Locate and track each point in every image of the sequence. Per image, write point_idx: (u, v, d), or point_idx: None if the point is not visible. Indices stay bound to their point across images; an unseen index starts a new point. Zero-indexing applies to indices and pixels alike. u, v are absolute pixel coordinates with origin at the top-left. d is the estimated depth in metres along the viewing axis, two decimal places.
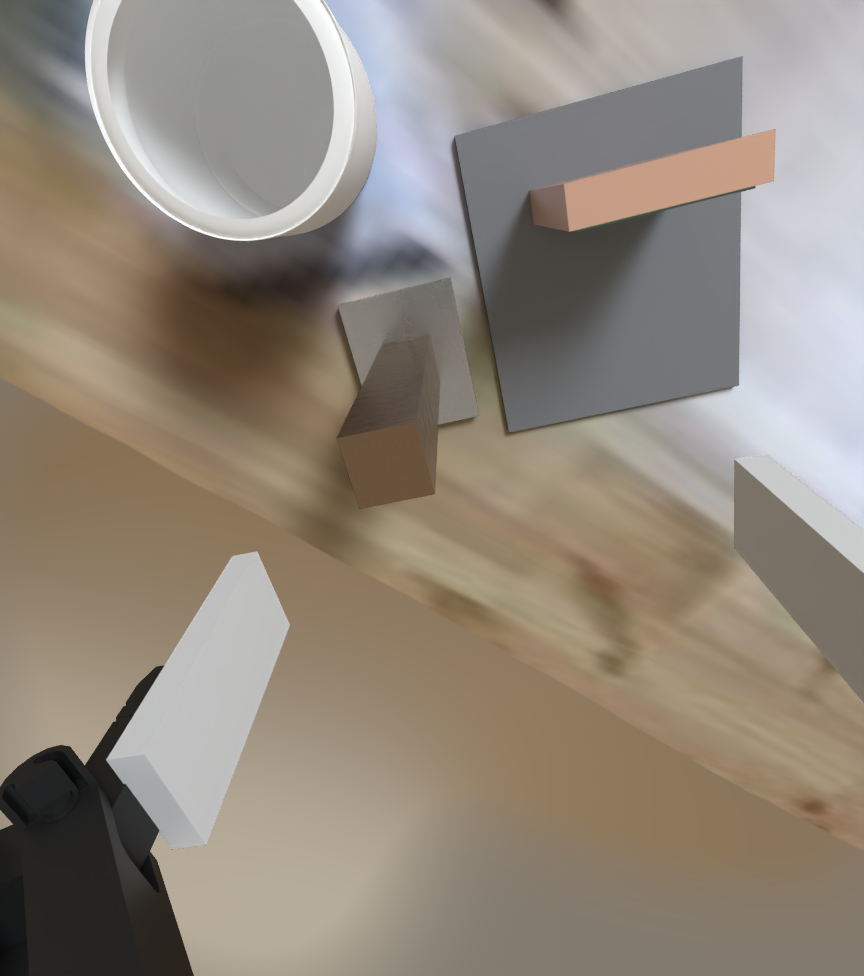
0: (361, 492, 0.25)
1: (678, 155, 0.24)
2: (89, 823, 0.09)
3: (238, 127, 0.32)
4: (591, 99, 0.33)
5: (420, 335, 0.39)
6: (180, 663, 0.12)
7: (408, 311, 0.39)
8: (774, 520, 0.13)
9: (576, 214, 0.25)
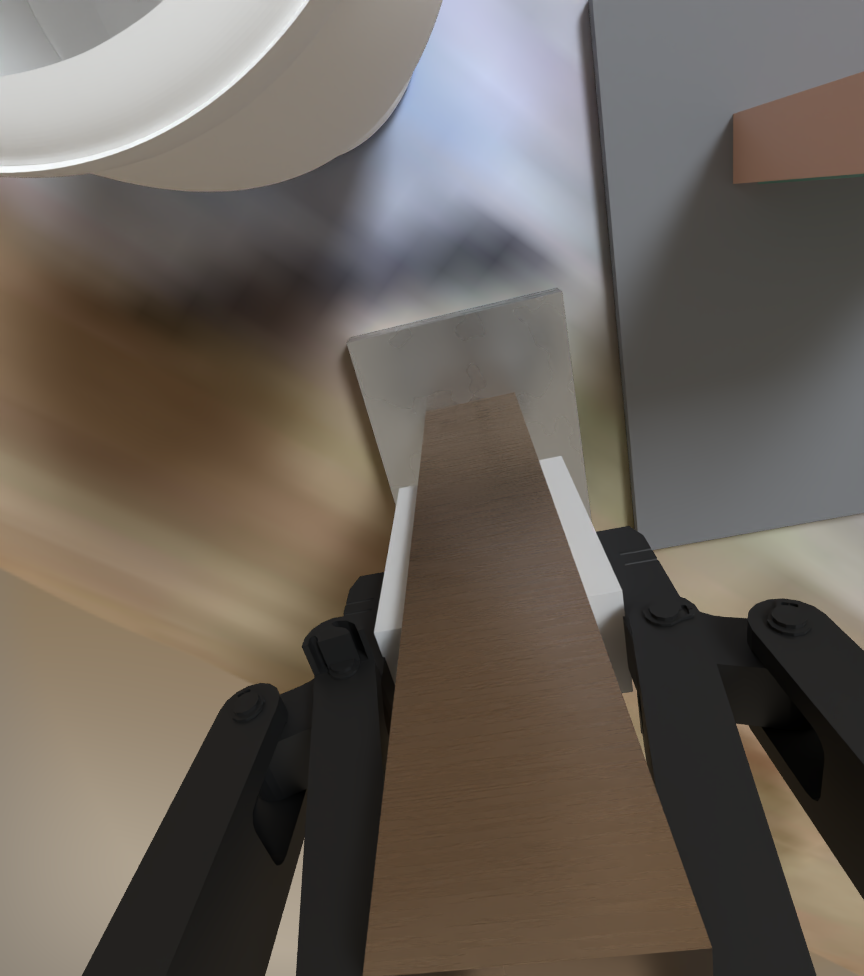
0: None
1: None
2: (364, 694, 0.10)
3: None
4: None
5: (498, 395, 0.21)
6: (400, 565, 0.13)
7: (478, 352, 0.21)
8: None
9: None
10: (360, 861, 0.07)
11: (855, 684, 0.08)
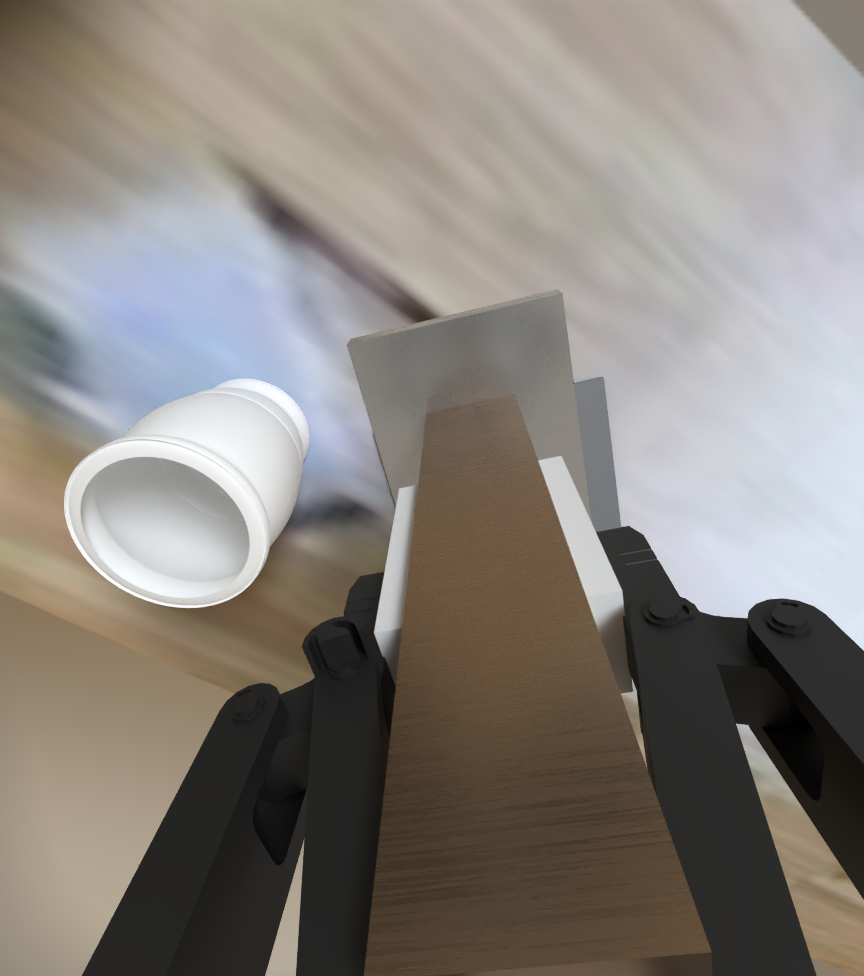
0: None
1: None
2: (364, 694, 0.10)
3: None
4: None
5: (498, 396, 0.21)
6: (401, 565, 0.13)
7: (478, 353, 0.21)
8: None
9: None
10: (360, 861, 0.07)
11: (855, 684, 0.08)
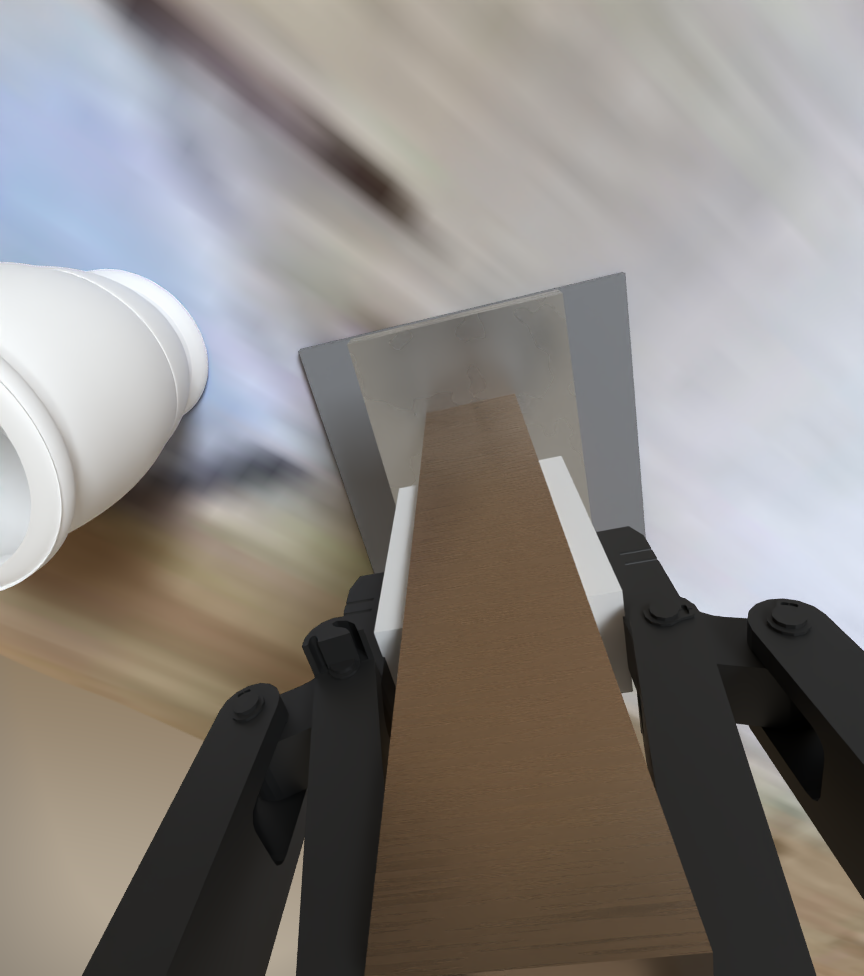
0: None
1: None
2: (364, 694, 0.10)
3: None
4: None
5: (498, 396, 0.21)
6: (400, 565, 0.13)
7: (478, 353, 0.21)
8: None
9: None
10: (359, 861, 0.07)
11: (856, 684, 0.08)
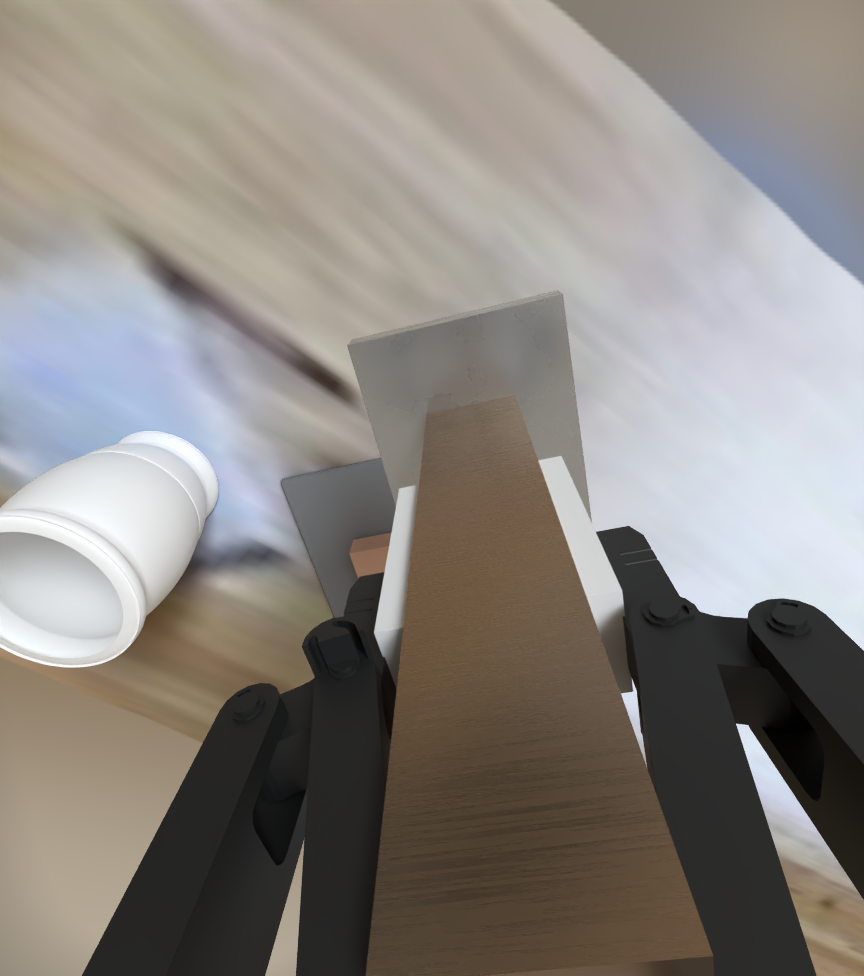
0: None
1: None
2: (364, 694, 0.10)
3: None
4: None
5: (498, 397, 0.21)
6: (400, 565, 0.13)
7: (478, 354, 0.21)
8: None
9: None
10: (360, 861, 0.07)
11: (855, 684, 0.08)
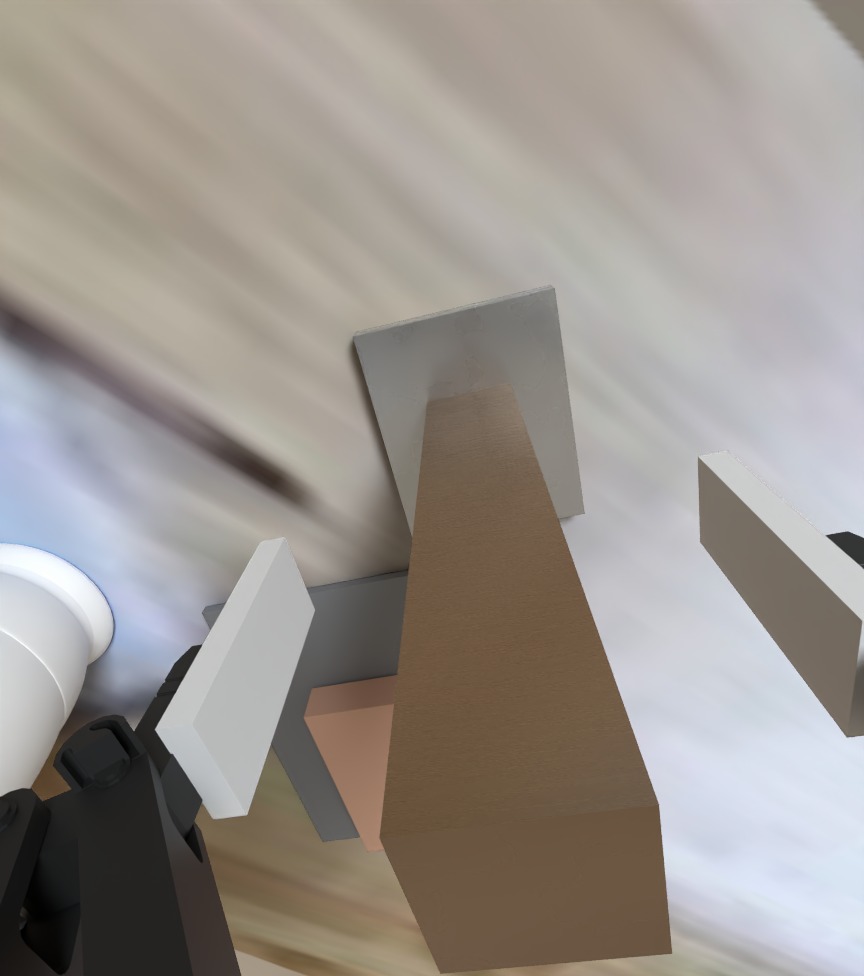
0: (449, 945, 0.08)
1: None
2: (139, 791, 0.09)
3: None
4: (354, 586, 0.28)
5: (495, 385, 0.23)
6: (219, 641, 0.12)
7: (476, 345, 0.22)
8: (731, 514, 0.13)
9: None
10: (154, 964, 0.07)
11: None
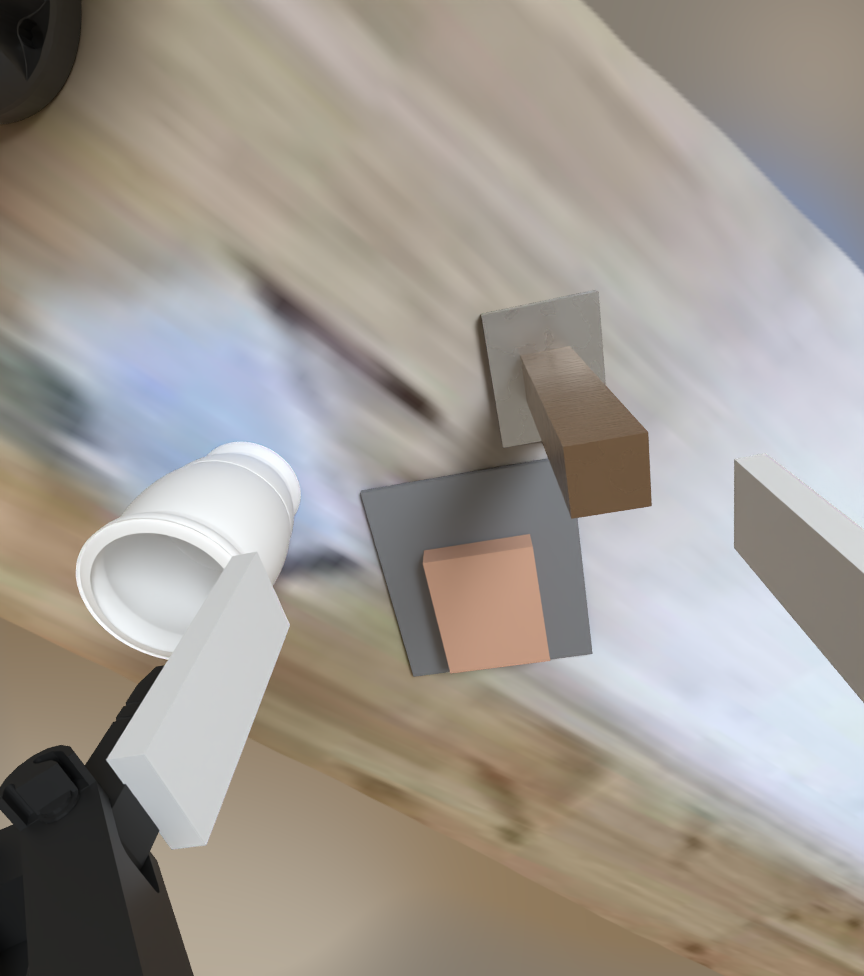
0: (577, 502, 0.25)
1: (504, 666, 0.50)
2: (89, 823, 0.09)
3: None
4: (461, 476, 0.45)
5: (560, 347, 0.39)
6: (180, 663, 0.12)
7: (551, 322, 0.39)
8: (774, 520, 0.13)
9: None
10: None
11: None
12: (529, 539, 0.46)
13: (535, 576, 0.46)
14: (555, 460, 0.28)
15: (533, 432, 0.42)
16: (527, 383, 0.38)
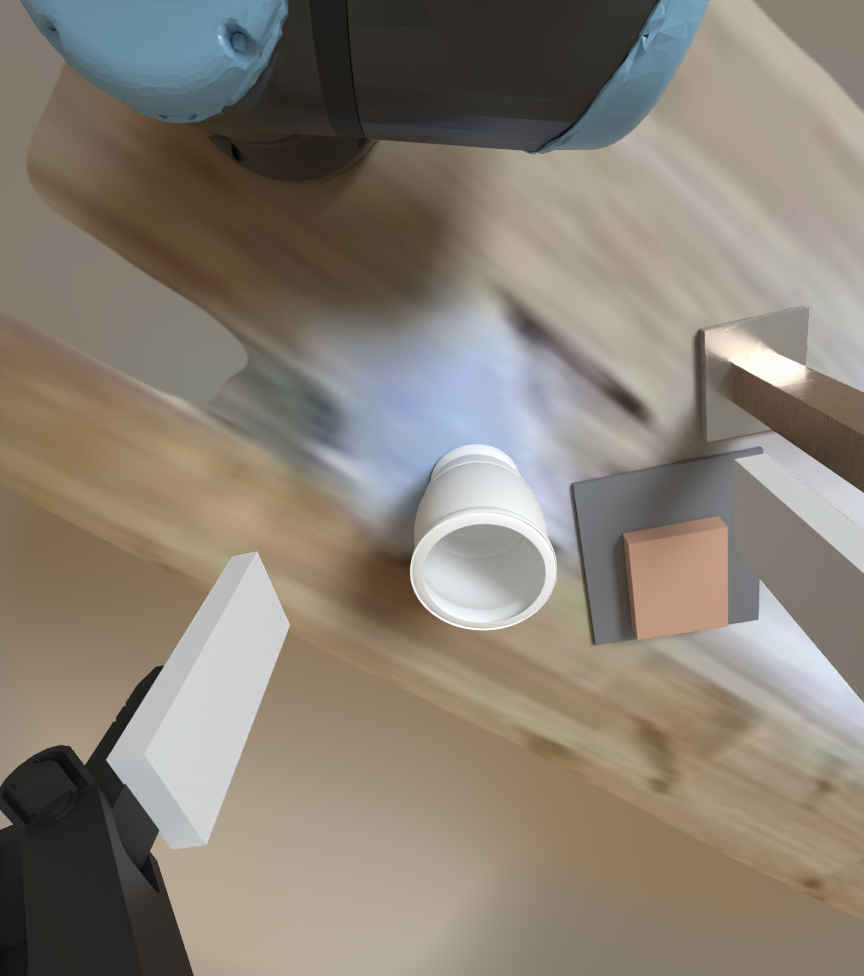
0: None
1: (686, 632, 0.57)
2: (89, 823, 0.09)
3: None
4: (664, 468, 0.51)
5: (770, 355, 0.46)
6: (180, 663, 0.12)
7: (764, 335, 0.45)
8: (774, 519, 0.13)
9: None
10: None
11: None
12: (720, 520, 0.53)
13: (726, 552, 0.53)
14: (840, 455, 0.34)
15: (735, 428, 0.49)
16: (751, 388, 0.44)
